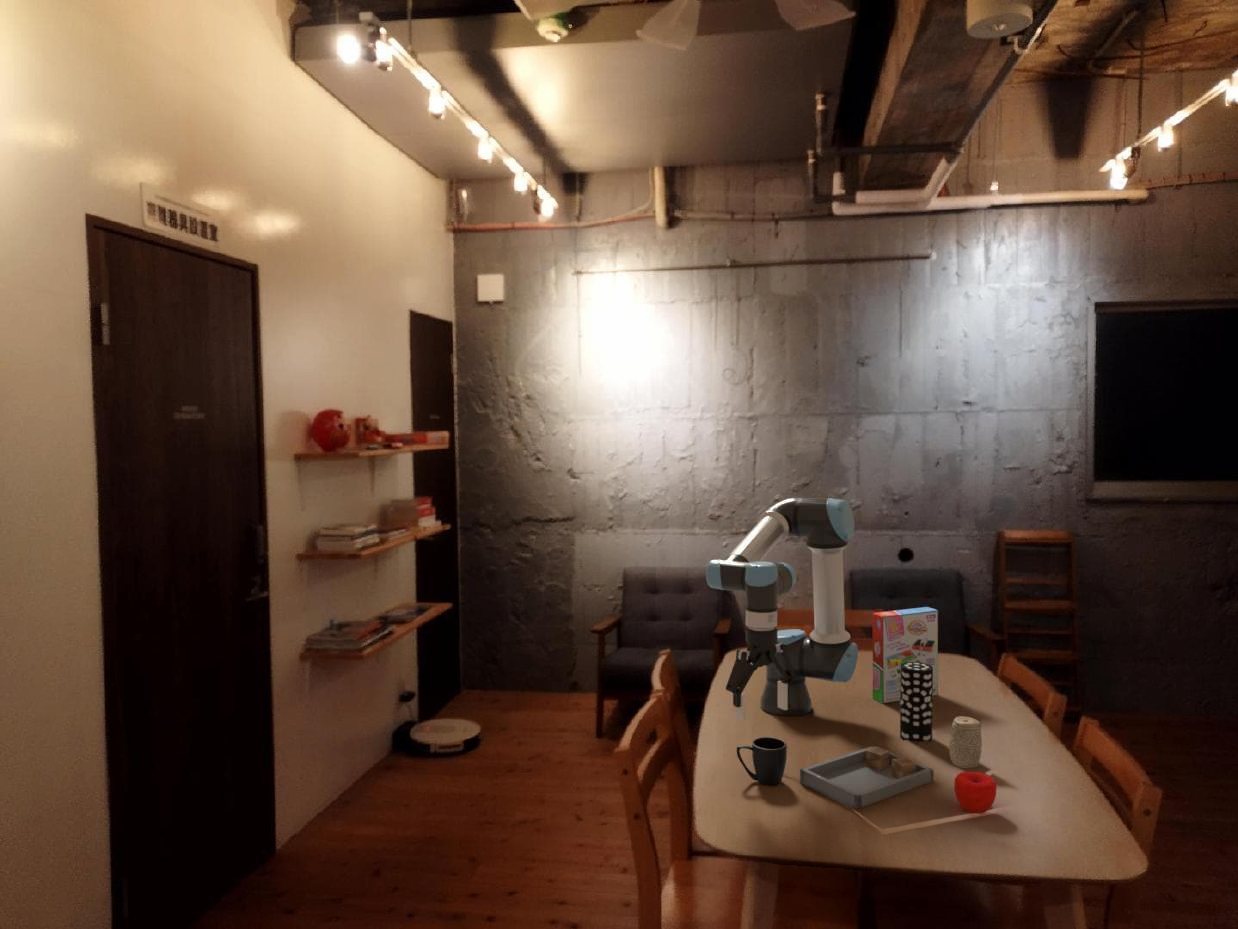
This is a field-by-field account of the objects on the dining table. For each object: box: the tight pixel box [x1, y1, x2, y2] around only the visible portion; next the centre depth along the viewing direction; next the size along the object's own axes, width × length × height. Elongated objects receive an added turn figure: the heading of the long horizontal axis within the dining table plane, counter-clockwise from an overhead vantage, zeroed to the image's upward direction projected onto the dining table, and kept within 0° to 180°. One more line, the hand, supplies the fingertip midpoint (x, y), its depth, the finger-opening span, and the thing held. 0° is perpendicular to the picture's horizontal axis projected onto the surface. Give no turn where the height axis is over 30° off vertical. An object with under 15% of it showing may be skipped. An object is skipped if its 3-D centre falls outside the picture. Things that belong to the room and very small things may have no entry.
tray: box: [799, 745, 934, 813], centre depth 207 cm, size 18×26×4 cm
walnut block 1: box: [866, 745, 890, 771], centre depth 215 cm, size 4×4×4 cm
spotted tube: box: [899, 662, 934, 743], centre depth 234 cm, size 8×8×20 cm
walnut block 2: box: [892, 756, 917, 779], centre depth 208 cm, size 4×4×4 cm
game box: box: [872, 606, 939, 704], centre depth 267 cm, size 21×6×27 cm, turn 108°
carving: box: [949, 715, 983, 769], centre depth 216 cm, size 6×8×12 cm
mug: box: [736, 736, 788, 787], centre depth 209 cm, size 8×12×10 cm
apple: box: [953, 771, 997, 814], centre depth 192 cm, size 9×9×8 cm
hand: (761, 714), depth 208 cm, fingers open, 13 cm apart
